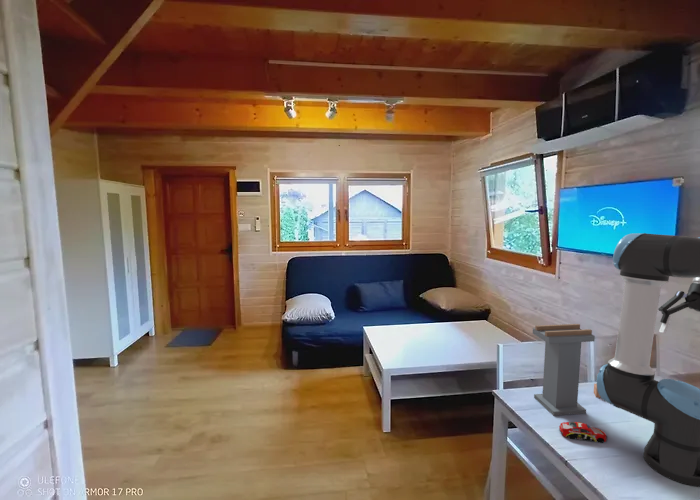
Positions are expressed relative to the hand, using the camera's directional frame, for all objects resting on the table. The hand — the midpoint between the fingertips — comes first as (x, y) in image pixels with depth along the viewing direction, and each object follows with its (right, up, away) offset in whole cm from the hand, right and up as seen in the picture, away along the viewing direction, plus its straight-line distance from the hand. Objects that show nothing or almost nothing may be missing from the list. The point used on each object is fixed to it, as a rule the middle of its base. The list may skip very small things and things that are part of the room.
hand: (682, 340), depth 136 cm
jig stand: (-43, -24, +3) cm, 49 cm away
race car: (-45, -27, -15) cm, 54 cm away
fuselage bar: (-13, -24, +6) cm, 28 cm away
